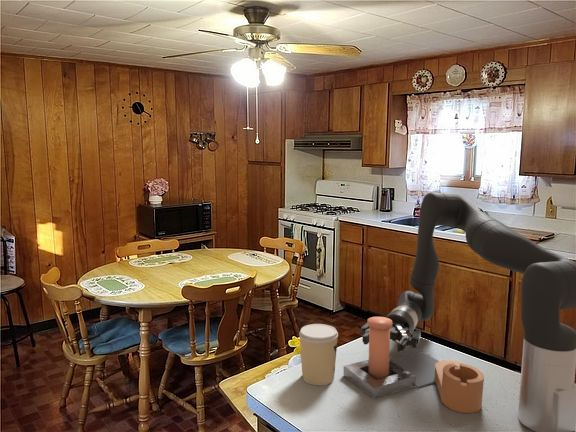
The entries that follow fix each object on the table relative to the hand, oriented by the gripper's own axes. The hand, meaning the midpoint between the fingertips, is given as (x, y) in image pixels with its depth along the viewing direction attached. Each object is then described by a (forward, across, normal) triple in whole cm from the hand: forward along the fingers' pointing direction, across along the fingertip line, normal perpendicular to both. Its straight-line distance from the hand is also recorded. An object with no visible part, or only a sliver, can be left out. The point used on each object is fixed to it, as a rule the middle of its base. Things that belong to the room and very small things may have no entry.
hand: (381, 344), depth 110 cm
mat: (-9, +7, +8) cm, 14 cm away
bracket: (-2, +17, +8) cm, 19 cm away
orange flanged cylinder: (+2, 0, +8) cm, 9 cm away
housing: (+2, 0, +8) cm, 9 cm away
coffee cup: (+7, -13, +9) cm, 18 cm away
